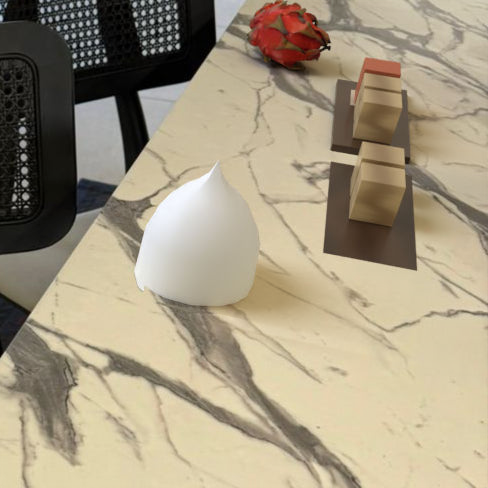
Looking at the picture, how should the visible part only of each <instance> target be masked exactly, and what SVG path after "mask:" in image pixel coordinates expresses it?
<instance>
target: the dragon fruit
mask: <svg viewBox="0 0 488 488" xmlns="http://www.w3.org/2000/svg"><path fill="white" fill-rule="evenodd" d="M318 26H319V20H318V18H317V16H316V15H315V14H313V13H311V12H307V8H306V7H303V8H302V6H301V4H300V3H299V2H293V3H292V4H288V0H274V2H265V4H263V6H262V7H260V8H259V9H257V10H256V11H255V13H254V14H253V17H251V18H250V19H249V23H248V27H249V29H250V31H249V32H247V33H246V36H247V38H246V41H247V42H248V44H249V45H250V46H253V47H258V48H259V51H260V52H261V55H262V58H263V63H265V64H267V63H269V62H271V60H273V61H274V62H276V63H277V64H280V65H282V66H283V67H286V69H288V70H291V71H298V70H299V71H300V70H306V68H305V66H303V65H296V63H297V62H305V61H307V62H311V61H315V62H318V61H319V59H320V57H321V54H322V52H324V51H326V50H327V51H329V52H330V51H331V49H332V46H331V44H332V41H331V38H330V36H329V33H327V32H326V31H325V30H324V29H323V28H321V27H318ZM321 47H322V48H321Z"/></svg>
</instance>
